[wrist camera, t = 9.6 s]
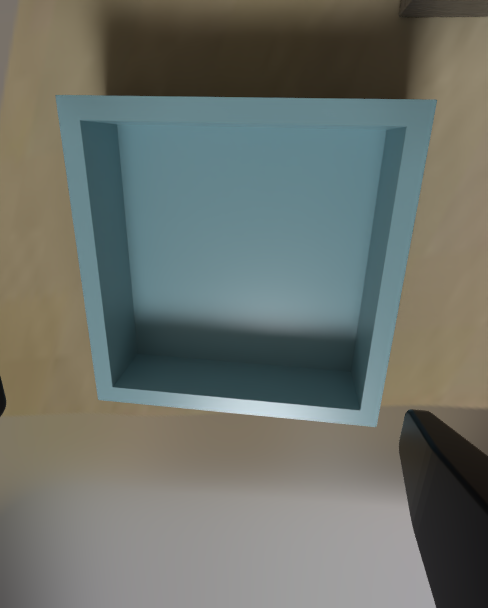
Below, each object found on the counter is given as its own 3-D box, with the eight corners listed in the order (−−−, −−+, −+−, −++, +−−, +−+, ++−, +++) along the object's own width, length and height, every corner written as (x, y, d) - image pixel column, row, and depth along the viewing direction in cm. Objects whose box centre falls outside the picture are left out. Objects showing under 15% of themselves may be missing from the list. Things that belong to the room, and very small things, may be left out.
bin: (405, 109, 16) (437, 99, 13) (362, 378, 21) (376, 427, 18) (105, 105, 18) (55, 95, 14) (130, 358, 23) (98, 399, 19)
